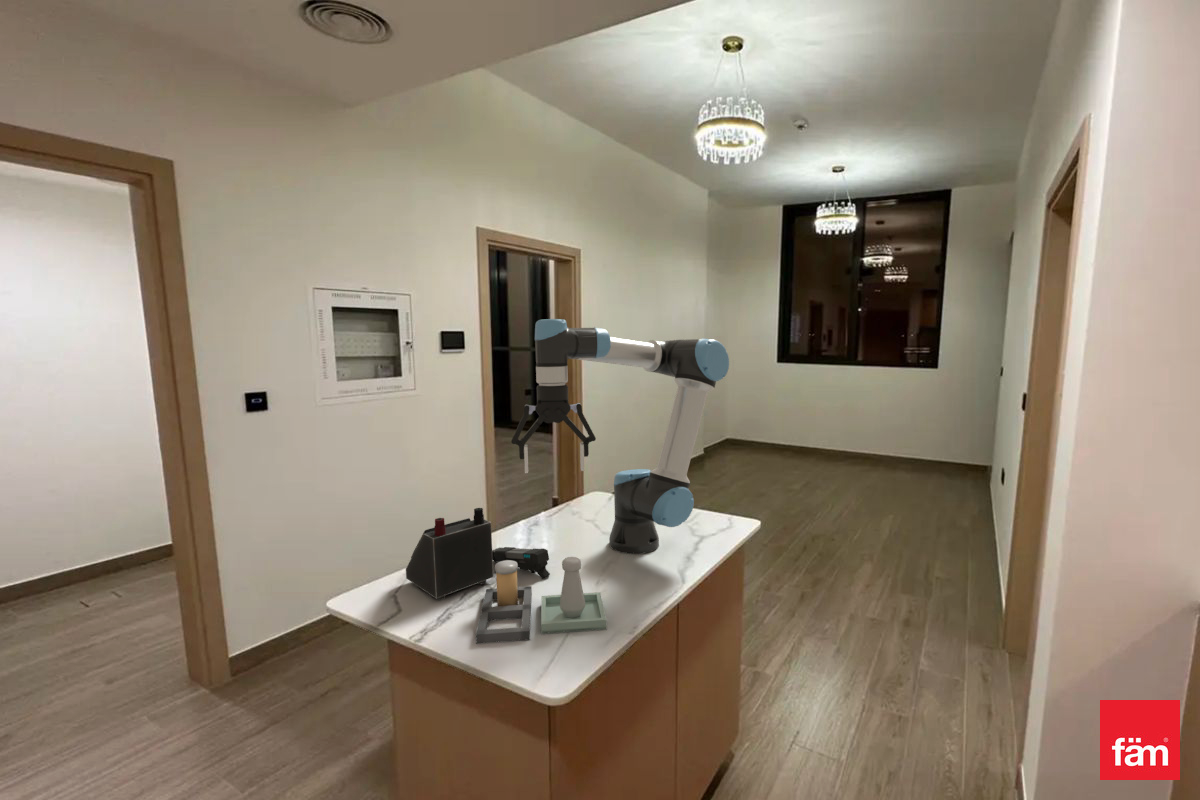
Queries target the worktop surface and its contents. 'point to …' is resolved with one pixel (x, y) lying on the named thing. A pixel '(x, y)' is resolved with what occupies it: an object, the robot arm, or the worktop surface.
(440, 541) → the voltmeter
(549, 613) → the tray
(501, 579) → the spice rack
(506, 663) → the worktop surface
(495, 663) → the worktop surface
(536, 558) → the gun
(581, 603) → the salt shaker
